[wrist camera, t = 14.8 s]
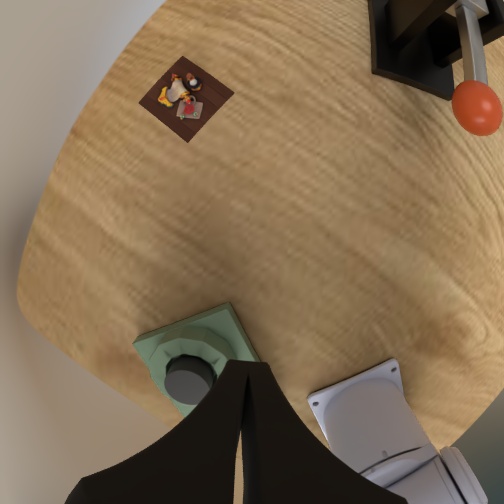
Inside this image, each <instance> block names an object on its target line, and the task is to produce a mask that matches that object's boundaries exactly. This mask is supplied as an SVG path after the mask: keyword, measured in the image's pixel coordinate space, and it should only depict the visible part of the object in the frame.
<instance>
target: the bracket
mask: <svg viewBox="0 0 504 504" xmlns="http://www.w3.org/2000/svg"><path fill="white" fill-rule="evenodd" d="M457 1H458V0H368V7H369V19H370V33H371V55H372V74H376V75H379V76H383V77H386V78H389V79H392V80H395V81H398V82H401V83H404V84H407V85H410V86H413V87H416V88H418V89H421V90H423V91H426V92H429V93H431V94H434V95H436V96H438V97H441V98H443V99H445V100H448V101H450V100H452V95H453V92H454V90H455V89H454V79H453V70H452V63H454V62H456V61H458V60H459V59H461V58H462V49H461V42H460V35H459V29H458V24H457V18H456V17H454V16H452V15H451V14H449V13H447V12H445V11H446V10H447V9H448V8H450V7H451V6H452V5H453V4H454V3H455V2H457ZM485 1H486V4H487V8H488V11H489V14H487V15H485V16H483V17H482V18H480V19H478V23H479V27H480V32H481V37H482V43H483V46H485V45H487V44H488V43H490V42H492V41H494V40H496V39H498V38H500V37H502V36H504V2H503V0H485Z"/></svg>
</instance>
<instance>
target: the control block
mask: <svg viewBox="0 0 504 504" xmlns="http://www.w3.org/2000/svg"><path fill="white" fill-rule="evenodd" d="M132 344H133V346H134V347H135V349H136V350H137V352H138V353H139V355H140V357H141V358H142V360H143V361H144V363H145V364H146V366H147V367H148V369H149V370H150V376H151V378H152V380H153V381H154V382H155V384H156V385H157V387H158V388H159V389H160V391H161V392H162V393H163V394H164V395H165V396H167V397H169V398H170V400H171V401H172V402H173V404H174V405H175V406H176V407H177V409H178V410H179V411H180V413H181V414H182V415H183V416H184V418H185V417H186V416H187V415H188V414H189V413H190V412H191V411H192V410H193V409H194V408H195V407H196V406H197V405H186V404H182V403H180V402H178V401H176V400H174V399H173V398H172V397H171V396H170V395H169V394H168V393H167V391H166V389H165V386H164V380H165V377H166V375H167V373H168V371H169V369H170V367H171V365H172V363H173V362H174V360H176V359H177V358H179V357H182V356H195V357H198V358H200V359H202V360H204V361H205V362H206V363H208V365H209V366H210V367H211V369H212V371H213V374H214V379H213V383H212V386H213V385H214V383H215V382H216V380H217V379H218V377H219V376H220V374H221V372H222V370H223V369H224V367H225V364H226V361H228V360H229V359H234V360H244V361H255V362H260V360H259V358H258V356H257V354H256V353H255V351H254V349H253V347H252V345H251V343H250V341H249V339H248V337H247V335H246V334H245V332H244V330H243V328H242V326H241V324H240V322H239V320H238V318H237V316H236V314H235V312H234V310H233V308H232V306H231V304H230V302H228V303H225V304H223V305H220V306H218V307H215V308H212V309H210V310H207V311H205V312H202V313H200V314H197V315H194V316H192V317H189V318H186V319H184V320H181V321H179V322H176V323H173V324H171V325H168V326H165V327H162V328H160V329H157V330H154V331H152V332H149V333H146V334H143V335H141V336H138V337H137V338H136V340H135V341H134V342H133V343H132Z"/></svg>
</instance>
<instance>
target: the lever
mask: <svg viewBox="0 0 504 504" xmlns="http://www.w3.org/2000/svg"><path fill="white" fill-rule="evenodd" d="M445 12H447V13H449V14H451V15H452V16H454V17H456V18H457V24H458V29H459V35H460V42H461V49H462V58H463V68H464V82H462V83H460V84H459V85H458V86H457V87H456V88H455V90H454V92H453V95H452V109H453V112H454V115H455V117H456V119H457V121H458V122H459V124H460V125H461V126H462V127H463V128H464V129H465V130H467V131H468V132H470V133H472V134H474V135H477V136H488V135H491V134H493V133H494V132H495V131H497V129H498V128H499V126H500V125H501V122H502V117H503V111H502V105H501V102H500V100H499V98H498V96H497V95H496V93H495V92H494V91H493V90H492V89H491V88H490V87H489V86H488V80H487V70H486V62H485V55H484V48H483V43H482V37H481V32H480V27H479V23H478V19H480V18H482V17H483V16H485V15H487V14H489V11H488V8H487V4H486V1H485V0H458V1H457V2H455V3H454V4H453V5H452V6H451V7H450V8H448V9H447V10H446V11H445Z"/></svg>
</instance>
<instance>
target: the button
mask: <svg viewBox="0 0 504 504" xmlns="http://www.w3.org/2000/svg"><path fill="white" fill-rule="evenodd" d="M213 379H214V374H213V371H212V369H211V367H210V366H209V365H208V363H206V362H205V361H204V360H202V359H200V358H198V357H195V356H182V357H179V358H177V359H176V360H174V362H173V363H172V365H171V367H170V369H169V371H168V373H167V375H166V377H165V380H164V386H165V389H166V391H167V393H168V394H169V395H170V396H171V397H172V398H173V399H174V400H176V401H178V402H180V403H182V404H186V405H198V403H199V402H200V401H201V400H202V399H203V398H204V397H205V395H206V394H207V393H208V391H209V390H210V389H211V387H212V383H213Z"/></svg>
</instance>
